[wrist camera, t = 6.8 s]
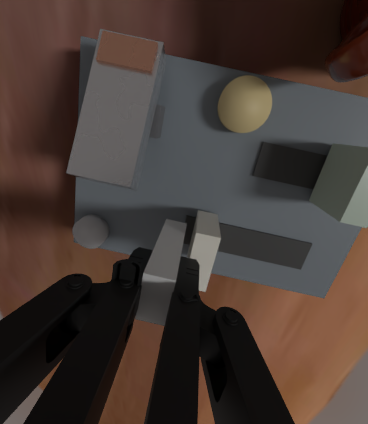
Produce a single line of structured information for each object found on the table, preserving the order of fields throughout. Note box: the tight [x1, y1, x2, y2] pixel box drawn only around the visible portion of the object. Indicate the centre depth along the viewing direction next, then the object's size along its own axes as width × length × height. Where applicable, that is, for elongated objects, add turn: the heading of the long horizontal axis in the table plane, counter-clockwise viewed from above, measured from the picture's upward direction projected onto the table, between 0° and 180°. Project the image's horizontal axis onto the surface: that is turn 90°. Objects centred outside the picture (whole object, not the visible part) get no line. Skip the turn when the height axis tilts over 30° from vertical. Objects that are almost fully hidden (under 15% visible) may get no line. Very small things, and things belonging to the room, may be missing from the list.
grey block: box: [309, 143, 368, 228], centre depth 14 cm, size 4×2×4 cm, turn 168°
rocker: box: [66, 29, 166, 191], centre depth 13 cm, size 8×4×2 cm, turn 168°
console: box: [73, 36, 368, 298], centre depth 18 cm, size 15×22×4 cm
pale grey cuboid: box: [187, 210, 221, 292], centre depth 16 cm, size 4×2×4 cm, turn 168°
